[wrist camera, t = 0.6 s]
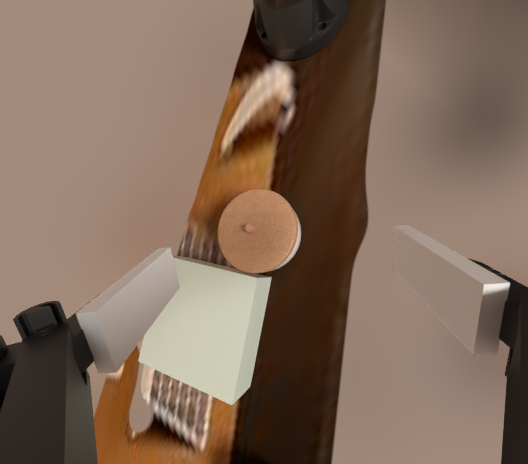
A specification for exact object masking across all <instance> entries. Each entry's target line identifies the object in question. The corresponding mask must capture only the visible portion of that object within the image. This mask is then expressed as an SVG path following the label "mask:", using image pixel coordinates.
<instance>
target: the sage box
mask: <svg viewBox="0 0 528 464" xmlns="http://www.w3.org/2000/svg"><path fill="white" fill-rule="evenodd" d="M173 260H174V264H175V268H176V272H177V277H178V281H179V285H180V288H179V289H178V290H177V292H176V293H175V294H174V296H173V297H172V299H171V300H170V301H169V303H168V304H167V305H166V307H165V308H164V309H163V311H162V312H161V313H160V315H159V316H158V317H157V319H156V320H155V321H154V323H153V324H152V325H151V327H150V328H149V330H148V331H147V332H146V334H145V335H144V339H143V343H142V347H141V352H140V356H139V360H138V361H139V362H141V363H143V364H145V365H147V366H149V367H151V368H154V369H156V370H158V371H160V372H162V373H164V374H166V375H168V376H171V377H173V378H175V379H177V380H179V381H181V382H183V383H185V384H188V385H190V386H192V387H194V388H196V389H198V390H200V391H202V392H205V393H207V394H209V395H211V396H213V397H215V398H217V399H219V400H222V401H224V402H226V403H228V404H230V405H233V404H234V403H235V402H236V401H237V400H238V399H239V398H240V397H241V396H242V395H243V394H244V392H245V391H246V390H247V389H248V388H249V387H250V385H251V380H252V375H253V370H254V365H255V360H256V354H257V349H258V344H259V339H260V334H261V329H262V324H263V319H264V313H265V308H266V303H267V298H268V293H269V288H270V283H271V278H272V277H269V276H265V275H260V274H256V273H248V272H244V271H241V270H239V269H235V268H231V267H227V266H222V265H218V264H214V263H210V262H206V261H201V260H197V259H193V258H189V257H181V256H173Z"/></svg>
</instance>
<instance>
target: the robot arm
mask: <svg viewBox="0 0 528 464" xmlns="http://www.w3.org/2000/svg"><path fill="white" fill-rule="evenodd" d="M253 2H254V14H255V25H256V31H257V34H258V37H259V39H260V41H261V44H262V46H263V48H264V49H265V51H266V52H267V53H268V54H269V55H271V56H272V57H274V58H277V59H280V60H298V59H302V58H305V57H308V56H310V55H312V54H314V53H316V52H318V51H319V50H321V49H322V48H324V47H325V46H326V45H327V44H329V43H330V42H331V41H332V40H333V39H334V38H335V36H336V35H337V34H338V33H339V31H340V30H341V28H342V26H343V25H344V23H345V20H346V18H347V15H348V10H349V0H253ZM392 271H393V272H394V273H395V274H396V275H397V276H398V277H399V278H400V280H402V281H403V283H404V284H405V285H406V286H407V287H408V288H409V289H410V290H411V291H412V292H413V293H414V294H415V295H416V296H417V297H418V298H419V299H420V300H421V301H422V303H424V305H425V306H426V307H427V308H428V309H429V310H430V311H431V312H432V313H433V314H434V315H435V316H436V317H437V318H438V319H439V320H440V321H441V322H442V323H443V324H444V325H445V327H446V328H447V329H448V330H449V331H450V332H451V333H452V334H453V335H454V336H455V337H456V338H457V339H458V340H459V341H460V342H461V343H462V344H463V345H464V346H465V347H466V348H467V349H468V351H469V352H470V353H471V354H472V355H473V356H474V355H495V354H497V351H498V346H499V340H502V341H503V342H504V343H505V344H506V345H508V346H509V347H510V351H509V357H508V361H507V366H506V371H505V376H507V385H506V399H505V415H504V430H503V444H502V459H501V464H528V287H526V286H524V285H522V284H520V283H518V282H517V281H515V280H513V279H511V278H509V277H507V276H506V275H502V274H501V273H500V272H498V271H496V270H493V269H492V268H491V267H489V266H487V265H485V264H483V263H481V262H478V261H475V260H472V259H469V258H468V259H467V258H465V257H464V256H462V255H460V254H458V253H456V252H455V251H453V250H451V249H449V248H447V247H446V246H444V245H442V244H440V243H439V242H437V241H435V240H433V239H432V238H430V237H428V236H426V235H424V234H423V233H421V232H419V231H417V230H416V229H414V228H412V227H410V226H408V225H403V226H394V228H393V258H392ZM179 288H180V285H179V281H178V277H177V272H176V268H175V264H174V260H173V256H172V252H171V248H170V247H165V248H158V249H157V250H155V251H154V252H153V253H152V254H150V255H149V256H148V257H147V258H145V259H144V260H143V261H141V262H140V263H139V264H138V265H136V266H135V267H134V268H132V269H131V270H130V271H129V272H127V273H126V274H125V275H124V276H122V277H121V278H120V279H118V280H117V281H116V282H115V283H113V284H112V285H111V286H110V287H108V288H107V289H106V290H104V291H103V292H102V293H101V294H99V295H98V296H96V297H95V298H94V299H93V300H92V301H90V302H89V303H87V304H86V305H85V306H84V307H82V308H81V309H80V310H79V311H77V312H76V313H75V314H73V315H72V316H71V317H70V318H68V319H66V316H65V314H64V311H63V309H62V306H61V304H60V302H59V301H50V302H45V303H42V304H38V305H36V306H33V307H31V308H29V309H27V310H25V311H23V312H21V313H20V314H18V315H17V316H16V317H15V318H14V319H13V320H14V323H15V325H16V327H17V329H18V331H19V333H20V335H21V337H22V342H20V343H15V344H12V345H6V343H5V341H4V339H3V337H2V336H0V464H98V462H97V451H96V440H95V429H94V419H93V408H92V397H91V386H90V376H89V374H88V371H87V368H88V367H89V366H90V365H91V363H92V362H93V361H94V363H95V365H96V368H97V370H98V373H113V372H117V371H118V370H119V369H120V367H121V366H122V365H123V363H124V362H125V360H126V359H127V358H128V356H129V355H130V354H131V352H132V351H133V350H134V348H135V347H136V346H137V344H138V343H139V342H140V340H141V339H142V338H143V336H144V335H145V334H146V332H147V331H148V330H149V328H150V327H151V325H152V324H153V323H154V321H155V320H156V319H157V317H158V316H159V315H160V313H161V312H162V311H163V309H164V308H165V307H166V305H167V304H168V303H169V301H170V300H171V299H172V297H173V296H174V294H175V293H176V292H177V290H178V289H179Z"/></svg>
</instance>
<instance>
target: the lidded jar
mask: <svg viewBox="0 0 528 464" xmlns="http://www.w3.org/2000/svg"><path fill="white" fill-rule="evenodd" d="M300 240H301V226H300V222H299V219H298V217H297V215H296V213H295V211H294V210H293V208H292V207H291V206H290V204H289V203H288V202H287V201H286V200H285V199H284V198H283V197H282V196H280V195H279V194H277V193H275V192H273V191H270V190H267V189H253V190H249V191H246V192H243V193H241V194H240V195H238V196H237V197H235V198H234V199H233V200H232V201H231V202H230V203H229V204H228V205H227V207H226V208H225V210H224V211H223V213H222V215H221V218H220V221H219V225H218V242H219V246H220V249H221V251H222V253H223V255H224V257H225V258H226V260H227V261H228V262H229V263H230V264H231V265H233V266H234V267H235V268H237V269H239V270H241V271H244V272H248V273H263V272H268V271H272V270H275V269H277V268H280V267H282V266H283V265H285V264H286V263H287V262H289V261H290V260H291V258H292V257H293V256H294V255H295V253H296V251H297V250H298V247H299V244H300Z"/></svg>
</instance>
